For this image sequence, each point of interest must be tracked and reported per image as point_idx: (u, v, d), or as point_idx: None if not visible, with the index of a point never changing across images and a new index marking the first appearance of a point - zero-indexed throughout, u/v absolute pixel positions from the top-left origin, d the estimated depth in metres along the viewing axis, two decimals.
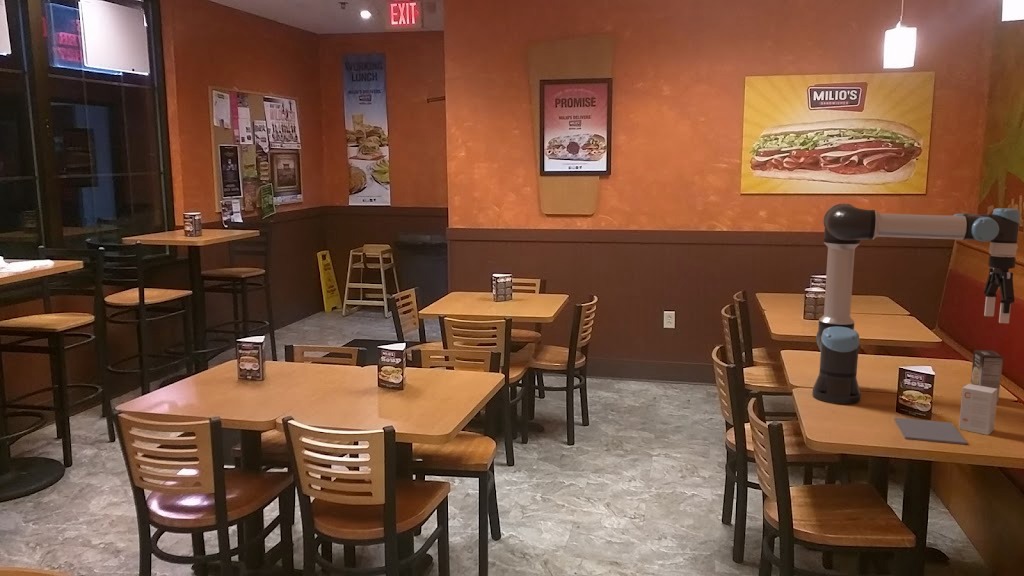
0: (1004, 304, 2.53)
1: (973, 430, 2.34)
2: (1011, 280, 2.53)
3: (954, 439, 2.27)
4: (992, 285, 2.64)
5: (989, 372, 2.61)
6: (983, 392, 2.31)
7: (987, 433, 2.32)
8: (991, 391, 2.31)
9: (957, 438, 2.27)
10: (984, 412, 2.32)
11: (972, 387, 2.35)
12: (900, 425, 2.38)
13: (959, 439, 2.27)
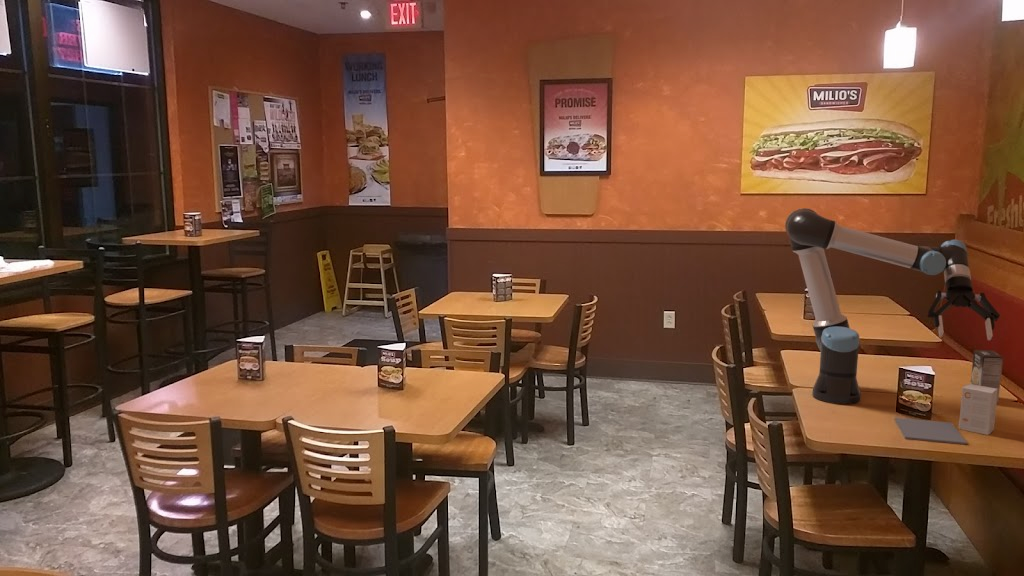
0: (991, 320, 2.47)
1: (973, 430, 2.34)
2: None
3: (954, 439, 2.27)
4: (948, 305, 2.53)
5: (989, 372, 2.61)
6: (983, 392, 2.31)
7: (987, 433, 2.32)
8: (991, 391, 2.31)
9: (957, 438, 2.27)
10: (984, 412, 2.32)
11: (972, 387, 2.35)
12: (900, 425, 2.38)
13: (959, 439, 2.27)
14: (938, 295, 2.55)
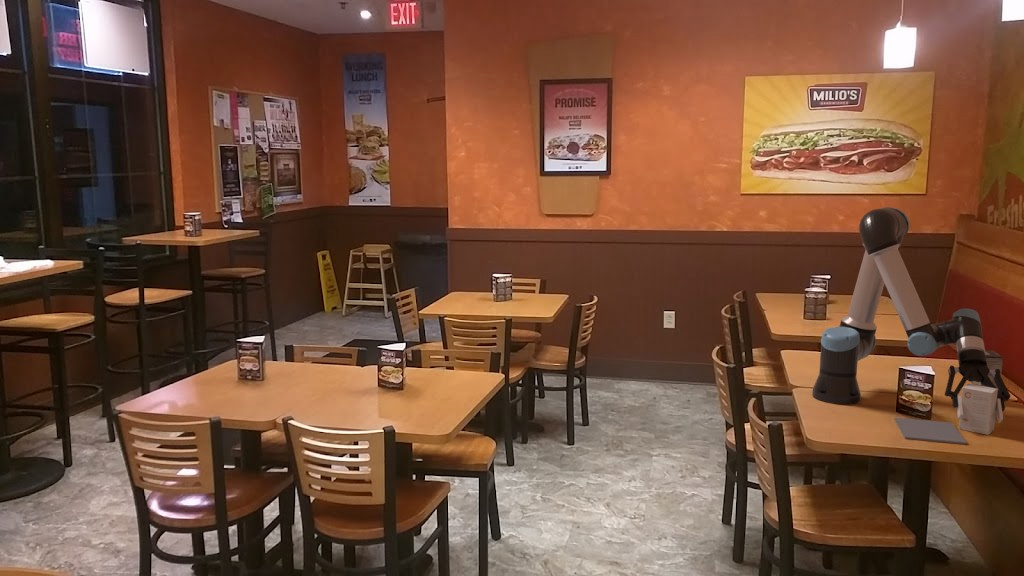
0: (1002, 400, 2.34)
1: (973, 430, 2.34)
2: None
3: (954, 439, 2.27)
4: (965, 382, 2.40)
5: None
6: (983, 392, 2.31)
7: (987, 433, 2.32)
8: (991, 391, 2.31)
9: (957, 438, 2.27)
10: (984, 412, 2.32)
11: (972, 387, 2.35)
12: (900, 425, 2.38)
13: (959, 439, 2.27)
14: (952, 371, 2.42)
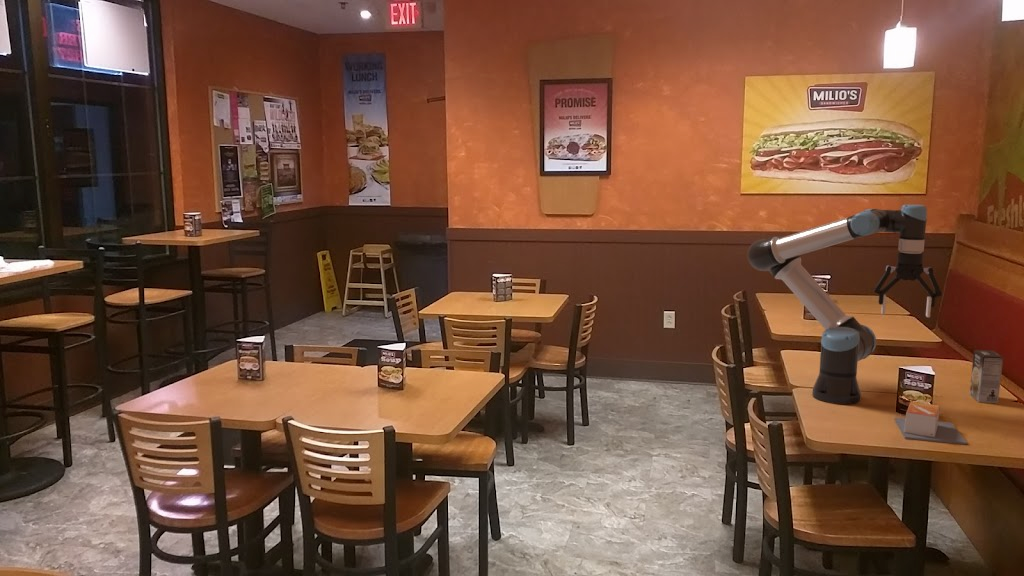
0: (933, 298, 2.59)
1: None
2: None
3: (954, 439, 2.27)
4: None
5: (989, 372, 2.61)
6: (925, 435, 2.30)
7: None
8: (932, 432, 2.28)
9: (957, 438, 2.27)
10: None
11: (912, 427, 2.31)
12: (900, 425, 2.38)
13: (959, 439, 2.27)
14: (887, 272, 2.61)
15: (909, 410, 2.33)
